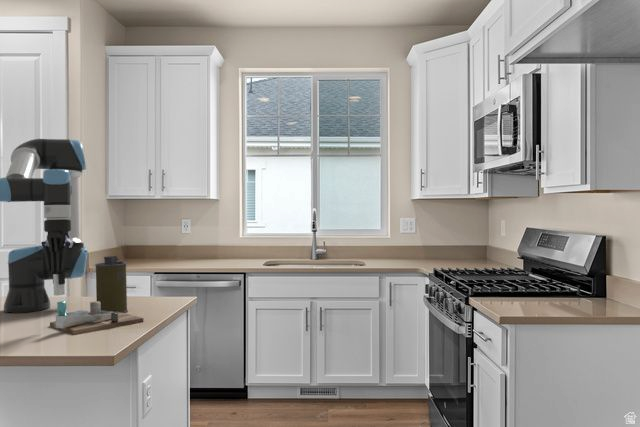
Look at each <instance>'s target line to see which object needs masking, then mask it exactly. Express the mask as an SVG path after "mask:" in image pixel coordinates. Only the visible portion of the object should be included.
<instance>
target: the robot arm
mask: <svg viewBox="0 0 640 427" xmlns="http://www.w3.org/2000/svg"><path fill="white" fill-rule="evenodd" d="M83 148H84V146H83V143H82V142H81V141H80V140H77V139H69V138H68V139H63V138H61V139H58V138H57V139H55V138H54V139H53V138H36V139H31V140H28V141H25V142H23V143H20V144H19V145H18V146H17V147H15V149H13V151H12V153H11V154H10V163H11V164H10V166H9V168H8V170H7V173H6V175H5V177H0V202H2V203H3V202H5V203H12V202H13V203H15V202H16V203H17V202H18V203H20V202H43V215H44V216H43V218H44V219H46V220H44V221H43V230H44V232H45V233H47V235H46V240H43V241H41V243H40V244H41V245H33V246H27V247H26V246H25V247H19V248H16V249H12V250H10V251H9V253H8V256H7V258H8V260H7V266H8V292H7V295H6V298H5V301H4V304H3V312H4V311H5V312H4V313H8V312H12V314H15V313H17V314H19V313H30V312H31V313H32V312H38V311H39V312H40V311H44V310H47V309H50V308H51V300H50V298H49V295H48V293H47V290H46V287H45V281H47V280H48V281H49V280H52V285H53V296H55V297H56V296H63V295H65V288H66V287H65V284H66V279H69V280H71V279H77V278H82V277H84V275H85V273H86V268H87V261H88V259H87V258H88V253H89V252H88V251H89V250H88V247H86V246H84V245H85V244H84V241H82V239H80V211H79V208H80V206H79V199H80V198H79V178H80V177H81V176H82V175H83V171H85V170H87V164H86V158H85V153H84V149H83ZM35 170H44V171H43V173H42V174H43V175H42V178H39V177H37V178H35V177H33V176H34V172H35Z"/></svg>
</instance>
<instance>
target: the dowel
mask: <svg viewBox="0 0 640 427" xmlns="http://www.w3.org/2000/svg"><path fill="white" fill-rule="evenodd" d="M116 322H118V313H111V323H116Z"/></svg>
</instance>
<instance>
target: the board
mask: <svg viewBox="0 0 640 427" xmlns="http://www.w3.org/2000/svg"><path fill="white" fill-rule="evenodd" d="M89 304H90V305H89V306H90V308H89V309H90V310H89V312H90V315H98V314H101V306H100V301H97V300H95V301H91V302H89ZM115 313H118V322H116V323H111V319H108V320H104V321H100V322H96V323H90V322H87V323H83V324H79V325H75V326H70V327H66V328H56V320H55V321H50V322H49V326H50V327H51V328H54V329H58V330H61V331H63V332H66V333H70V334H73V335H79V334H83V333H90V332H94V331H95V332H96V331H99V330H107V329H111V328H117V327H121V326H127V325H132V323H133V324H136V323H137V322H139V323H142V322H141V321H145V320H144V317H143V316H142V317H141V316H137V315H133V314H129V313H126V312H125V313H121V312H117V311H116V312H115Z"/></svg>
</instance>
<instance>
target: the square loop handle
mask: <svg viewBox="0 0 640 427" xmlns="http://www.w3.org/2000/svg"><path fill="white" fill-rule="evenodd" d="M56 303H57V306H56V308H57V310H56V311H57V313H56V314H57V315H55V321H56V328H55V329H57V328H66V327H70V326H75V325H79V324H83V323H87V322H90V323H96V322H100V321H104V320H108V319H111V313H115V312H112V311H102V310H101V314H98V315H90V311H89V310H81V309H80V310H77V311H72V312H68V313H67V301H66V300H64V301H58V302H56Z"/></svg>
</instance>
